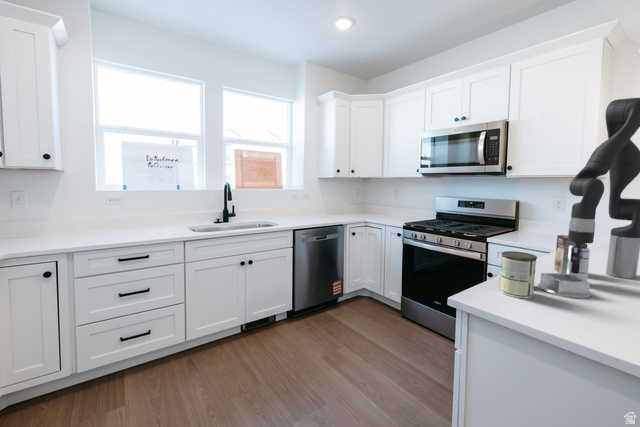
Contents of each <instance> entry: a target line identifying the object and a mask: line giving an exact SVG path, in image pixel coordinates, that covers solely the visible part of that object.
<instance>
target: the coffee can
mask: <svg viewBox="0 0 640 427" xmlns="http://www.w3.org/2000/svg"><path fill="white" fill-rule="evenodd" d="M537 259H538V256H537V255H536V254H533V253H532V254H531V253H529V252H522V251H516V250H515V251H514V250H512V251H511V250H510V251H509V250H508V251H502V252H501V263H500V264H501V265H500V266H501V268H500V279H499V292H500V293H501V294H503V295H505V296H508V297H511V298H517V299H532V298H534V288H535V276H536V269H537V268H536V266H537Z"/></svg>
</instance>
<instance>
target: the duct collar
mask: <svg viewBox="0 0 640 427" xmlns="http://www.w3.org/2000/svg"><path fill="white" fill-rule="evenodd" d="M539 279H540V280H539V283H538V284H537V287H538V289H540V290H541V291H543V292H544V293H545V292H546V293H548V294H551V295H554V294H555V296H558V295H559V297H563V296H564V297H563V298H568V297H571V299H578V298H585V299H589V298H590V297H591V293H590V287H591V282H590V281H588V280H587V281H585V280H583V279H580V278H578V277H575V276H573V275H571V274H560V273H559V272H558V273H555V272H554V273H553V272H541V273H540V278H539ZM588 297H589V298H588Z"/></svg>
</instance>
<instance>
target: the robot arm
mask: <svg viewBox="0 0 640 427" xmlns="http://www.w3.org/2000/svg"><path fill="white" fill-rule="evenodd" d="M605 109H606V110H605V124H606V131H607V139H606V140H605V141H603V142H602V143H601V144H600V145H598V146H597V147H596V148H595V149H594V151H593V152H592V154H591V155H590V157H589V159H588V161H587V162H586V165H585V166H584V167H583V168H582V169H581V170H579V171H578V173H577V174H576V175H575V176H574V177H573V178H572V180H571V181H570V184H569V186H568V187H569V192H570V194H571V195H573V196H575V197H582V198H581V200H580V202H576V203H574V204H572V206H571V212H570V213H571V215H570V221H569V224H568V234H567V236H568V240H569V241H571V242H575V244H574V246H572V248H571V249H572V251H571V260H570V261H571V263H572V269H571V272H572V273H576V274H578V273H579V267H580V263H581V259H583V254H584V252H582V248H584V249H586V248H588V244H593V243H594V238H595V230H596V214H597V207H598V206H599V204H600V201H601V200H602V197H603V195H604V193H605V185H604V184H605V183H604V182H603V181H602V180H601V179H599V177H601V176H604V175H606V174H608V173H609V197H608V198H609V199H608V215H609V217H610V219H612V220H618V221H619V220H620V221H629V222H630V221H631V223H630V224H627V225H625V226H620V227H613V228H611V230H610V235H609V247H608V254H607V261H606V262H607V263H606V269H605V270H606V271H605V274H606V275H609V276H613V277H616V278H617V277H618V278H623V279H632V280H633V279H634V280H635V279H636V278H637V274H638V267H639V265H638V264H639V257H640V198H625V197H624V198H622V197H621V195H622V193H623V192H624V190H625V189H626V188H627V186H629V185H630V184H631V183H632V182H633V181H634V180H635V179H636V178H637V177H638V176H639V174H640V149H639V148H638V146H637V145H636V144H635V143H634V142H633V141H632V137H633V136H634V135H635V134H636V133H637V132H638V130H639V129H640V97H631V98H620V99H614V100H612V101H610V102H609V103H608V104H607V107H606V108H605ZM581 252H582V254H581ZM576 253H577V254H576ZM580 254H581V256H580ZM574 258H578V259H577V260H574Z"/></svg>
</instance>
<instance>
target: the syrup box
mask: <svg viewBox="0 0 640 427" xmlns="http://www.w3.org/2000/svg"><path fill="white" fill-rule="evenodd" d="M571 248H572V246H569V252H568V263H567V274H571V275H573V276H575V277H578V278H580V279H583V280H585V281H587V282H588V277H589V263H590V252H591V250H590V249H589V248H588V247H587V248H586V249H584V248H582V252H584V254H583V259H581V263H580V267H579V273H578V274H576V273H572V272H571V269H572V263H571V261H570V260H571V251H572V249H571ZM582 252H581V254H582ZM576 254H577V253H576ZM581 254H580V256H581ZM577 259H578V258H574V260H577Z"/></svg>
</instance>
